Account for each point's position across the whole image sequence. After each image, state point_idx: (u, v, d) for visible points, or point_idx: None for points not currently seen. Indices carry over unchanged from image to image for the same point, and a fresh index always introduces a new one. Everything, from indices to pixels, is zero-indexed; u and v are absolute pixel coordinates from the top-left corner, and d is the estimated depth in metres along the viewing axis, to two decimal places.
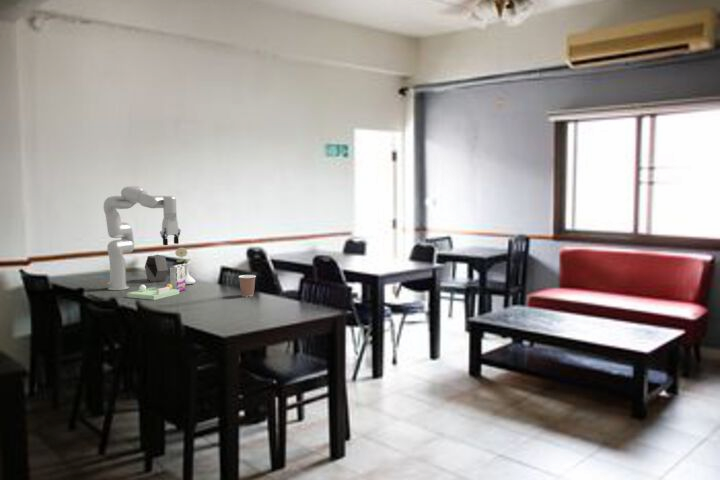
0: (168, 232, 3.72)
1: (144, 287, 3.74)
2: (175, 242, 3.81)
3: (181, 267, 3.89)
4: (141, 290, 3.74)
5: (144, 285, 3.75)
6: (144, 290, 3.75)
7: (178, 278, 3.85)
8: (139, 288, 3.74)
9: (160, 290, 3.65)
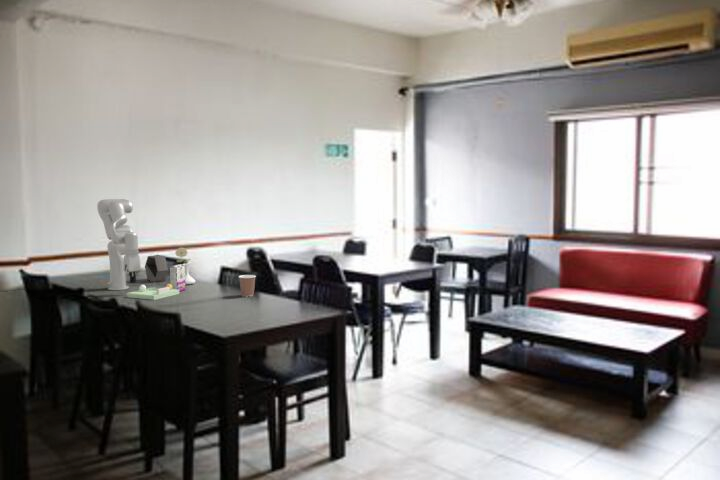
0: (129, 269, 3.73)
1: (144, 287, 3.74)
2: None
3: (181, 267, 3.89)
4: (141, 290, 3.74)
5: (144, 285, 3.75)
6: (144, 290, 3.75)
7: (178, 278, 3.85)
8: (139, 288, 3.74)
9: (160, 290, 3.65)
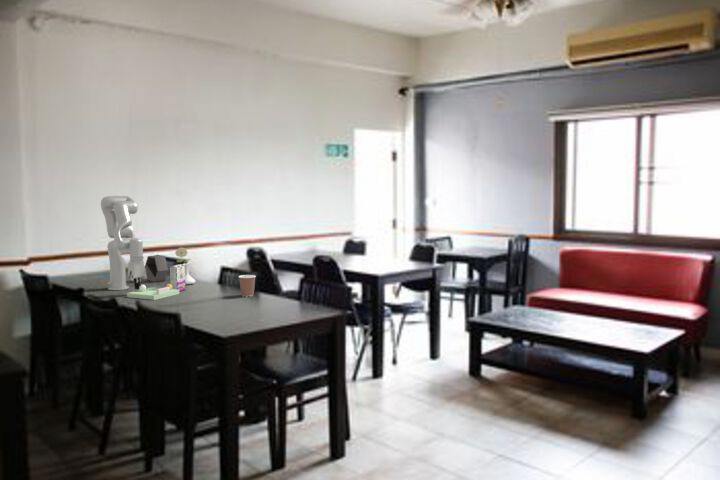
0: (134, 275, 3.72)
1: (144, 287, 3.74)
2: None
3: (181, 267, 3.89)
4: (141, 290, 3.74)
5: (144, 285, 3.75)
6: (144, 290, 3.75)
7: (178, 278, 3.85)
8: (139, 288, 3.74)
9: (160, 290, 3.65)
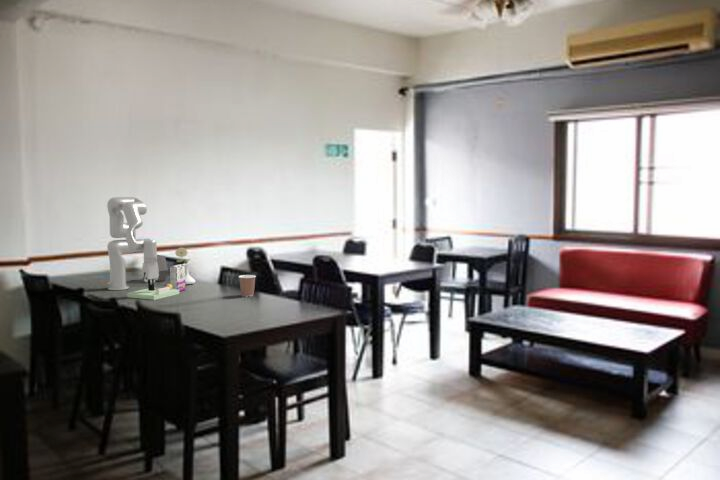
0: (148, 276, 3.67)
1: None
2: None
3: (181, 267, 3.89)
4: None
5: None
6: None
7: (178, 278, 3.85)
8: (156, 292, 3.69)
9: (160, 290, 3.65)
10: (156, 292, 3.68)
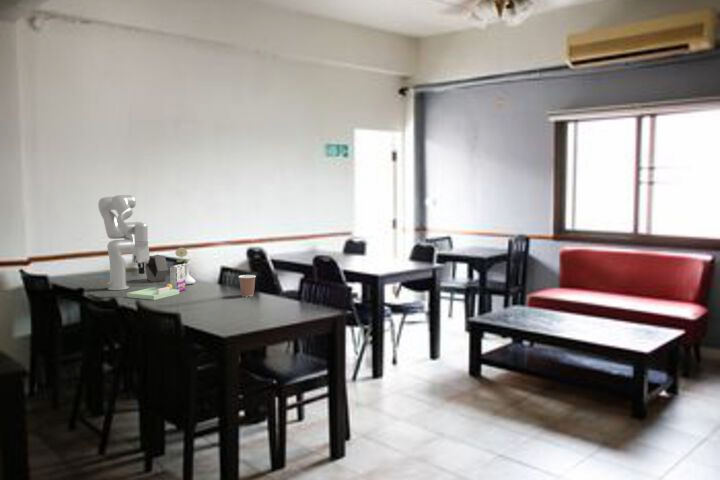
0: (138, 260, 3.70)
1: None
2: None
3: (181, 267, 3.89)
4: None
5: None
6: None
7: (178, 278, 3.85)
8: None
9: (160, 290, 3.65)
10: None
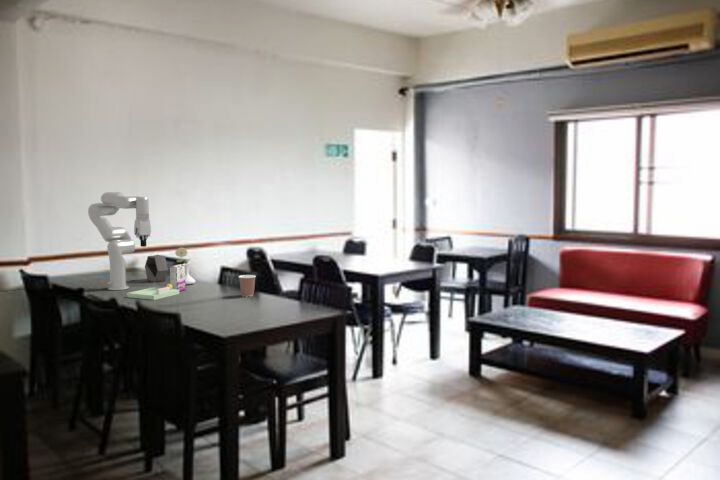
0: (140, 232, 3.76)
1: None
2: None
3: (181, 267, 3.89)
4: None
5: None
6: None
7: (178, 278, 3.85)
8: None
9: (160, 290, 3.65)
10: (155, 292, 3.69)
